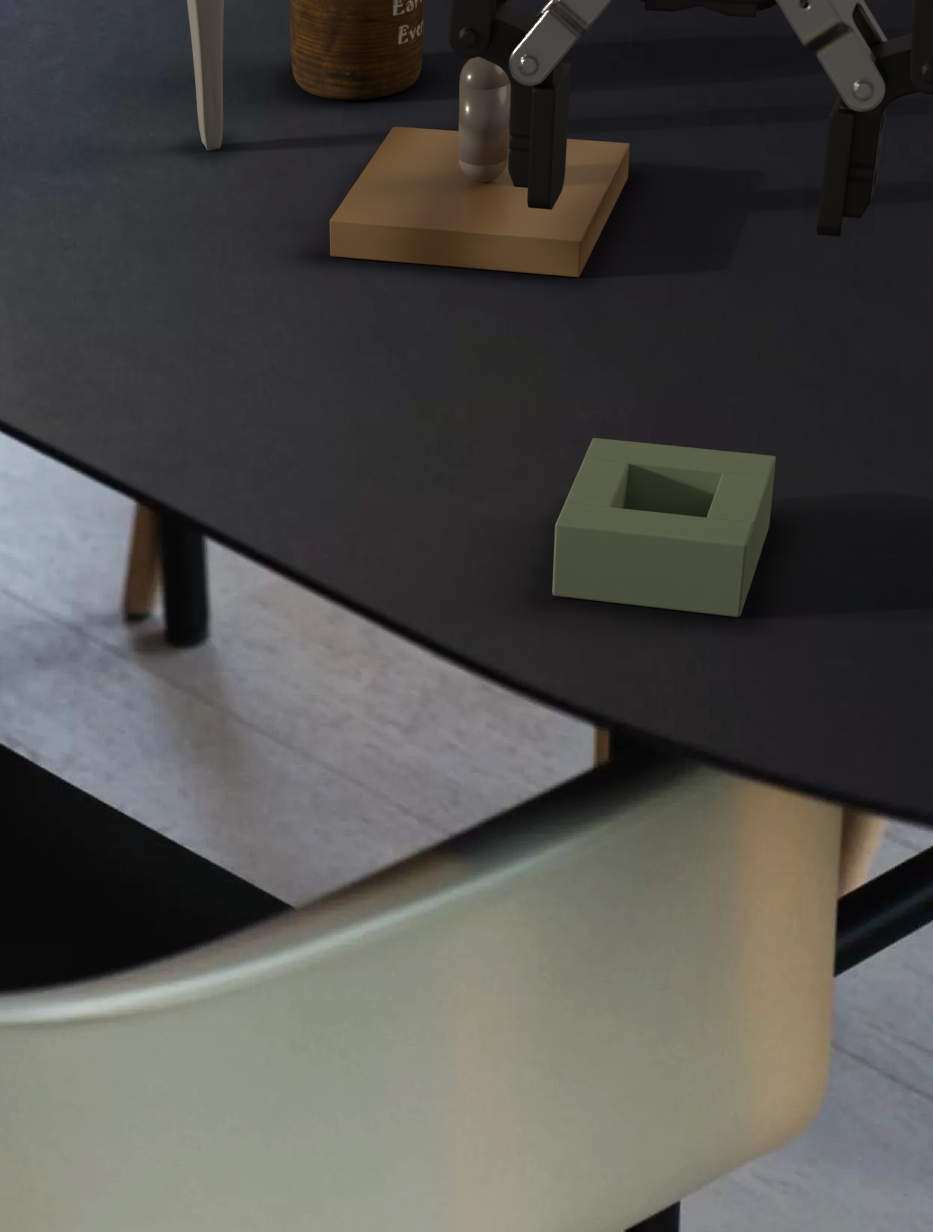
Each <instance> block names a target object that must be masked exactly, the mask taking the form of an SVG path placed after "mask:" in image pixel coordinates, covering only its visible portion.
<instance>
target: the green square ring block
mask: <svg viewBox="0 0 933 1232" xmlns="http://www.w3.org/2000/svg"><path fill="white" fill-rule="evenodd" d="M776 461H777V457H776V456H775V455H768V454H760V453H759V454H758V453H749V452H739V451H738V452H737V451H730V450H729V451H728V450H719V449H718V450H717V449H709V448H708V449H707V448H700V447H699V448H698V447H688V446H679V445H668V444H660V443H649V442H641V441H640V442H639V441H629V440H619V439H607V438H598V437H593V438H592V439H591V441H590V444H589V446H588V449H587V451H586V453H585V455H584V458H583V460H582V463H581V465H580V467H579V469H578V471H577V474H576V476H575V479H574V481H573V482H572V486H571V488H570V490H569V492H568V495H567V497H566V499H565V501H564V503H563V505H562V509H561V511H560V513H559V515H558V518H557V520H556V522H555V525H554V544H553V545H554V546H553V566H552V567H553V568H552V589H551V590H552V591H551V594H552V595H553V596H554V597H561V598H569V599H578V600H585V601H594V602H602V603H603V602H604V603H612V604H619V605H620V604H621V605H630V606H637V607H647V608H654V609H655V608H656V609H663V610H673V611H682V612H688V613H689V612H690V613H699V614H706V615H714V616H715V615H716V616H723V617H732V618H739V617H741V615H742V612H743V609H744V606H745V603H746V600H747V597H748V594H749V591H750V588H751V585H752V582H753V579H754V576H755V573H756V569H757V567H758V563H759V560H760V558H761V554H762V551H763V547H764V544H765V541H766V538H767V535H768V531H769V529H770V523H771V511H772V502H773V493H774V491H773V490H774V483H775V471H776V463H777V462H776Z"/></svg>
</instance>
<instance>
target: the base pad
mask: <svg viewBox="0 0 933 1232" xmlns="http://www.w3.org/2000/svg"><path fill="white" fill-rule="evenodd" d="M458 91H459V93H458V94H459V95H458V130H447V129H433V128H420V127H419V128H418V127H405V126H393V127H392V128H391V130H390V131H389V133H388V134H387V135H386V137H385V138H384V140H383V141H382V143H381V144H380V145H379V147H378V148H377V150H376V152H375V153H374V154H373V156H372V158H371V159H370V161H369V162H368V164H367V165H366V166H365V168H364V169H363V171H362V172H361V173H360V175H359V177H358V178H357V180H356V181H355V183H354V184H353V185H352V187H351V189H350V190H349V191H348V193H347V195H346V196H345V198H344V199H343V201H342V202H341V203H340V205H339V206H338V207H337V209H336V211H335V212H334V213H333V215H332V216H331V218H330V219H329V255H330V257H335V258H344V259H345V258H346V259H359V260H371V261H382V262H393V263H404V264H406V263H407V264H417V265H428V266H429V265H430V266H442V267H453V268H463V269H464V268H465V269H475V270H476V269H477V270H487V271H489V270H490V271H500V272H513V273H522V274H533V275H535V274H536V275H547V276H558V277H559V276H560V277H570V278H580V276H581V274H582V272H583V270H584V268H585V266H586V265H587V262H588V260H589V258H590V256H591V254H592V252H593V249H594V248H595V246H596V243H597V242H598V240H599V238H600V236H601V233H602V231H603V229H604V227H605V226H606V223H607V222H608V219H609V218H610V215H611V214H612V212H613V209H614V208H615V205H616V203H617V201H618V199H619V197H620V195H621V193H622V191H623V189H624V186H626V185H625V184H626V182H627V181H628V179H629V167H630V165H629V164H630V148H631V144H630V143H629V142H615V141H602V140H601V141H600V140H586V139H574V138H567V148H566V166H565V178H564V184H563V189H562V192H561V194H560V196H559V198H558V199H557V201H556V203H555V205H554V207H553V209H552V210H549V209H538V208H529V207H528V204H527V195H528V188H523V187H514V185H513V182H512V180H511V177H510V174H509V171H508V159H509V138H510V135H509V134H510V109H511V84H510V81H509V78H508V76H507V74H506V73H505V72H504V71H503V70H502V69H501V68H500V67H499V66H497V65H496V64H494V63H491V62H489V61H487V60H485V59H483V58H480V57H476V58H471V59H470V58H468V60H467V61H466V62H465V63H464V65H463V67H462V69H461V71H460V74H459V90H458Z"/></svg>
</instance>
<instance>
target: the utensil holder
mask: <svg viewBox="0 0 933 1232" xmlns="http://www.w3.org/2000/svg"><path fill="white" fill-rule="evenodd" d="M289 40H290V56H291V57H290V60H291V69H292V74H293V78H294V80H295V82H296V84H297V85H298V86H299V87H300V88H301V89H302V90H304V91H305V92H307V93H309V94H311V95H314V96H317V97H320V98H325V99H331V100H337V101H338V100H339V101H367V100H376V99H381V98H386V97H390V96H393V95H397V94H398V93H401V92H403V91H405V90H407V89H409V88H410V87H412V86H413V85H414V84H415V83H416V82H417V80H418V79H419V77H420V74H421V71H422V65H423V56H424V0H289Z"/></svg>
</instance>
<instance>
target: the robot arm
mask: <svg viewBox="0 0 933 1232" xmlns="http://www.w3.org/2000/svg"><path fill="white" fill-rule="evenodd" d="M612 2H613V0H548V2H547V3H546V4H545V5H544V7H542V9H541V10H540V11H539V12H538V14H537V15H535V14H533V13H530V12H528V11H526V10H524V9H522V8H520V7H517V6H515V5H514V4H511V3H510V0H451V4H450V16H449V26H448V27H449V28H448V41H449V45H450V47H451V49H452V50H453V52H454V53H455V54H457V55H458V56H459V57H461V58H464V59H471V58H476V57H480V58H483V59H485V60H487V61H489V62H491V63H494V64H496V65H497V66H499V67H500V68H501V69H502V70H503V71H504V72H505V73H506V74H507V76H508V78H509V81H510V84H511V93H510V127H509V135H510V138H509V159H508V171H509V174H510V177H511V180H512V182H513V185H514V187H523V188H528V195H527V204H528V207H529V208H538V209H549V210H552V209H553V207H554V205H555V203H556V201H557V199H558V198H559V196H560V194H561V192H562V189H563V184H564V178H565V166H566V148H567V139H568V129H569V128H568V127H569V125H568V124H569V109H570V92H571V91H570V88H571V71H572V63H571V62H570V63H569V62H563V61H564V60H563V59H564V57H565V56H566V55H567V53H568V52H569V51H570V50H571V49H572V47H574V45H575V44H576V43H577V41H578V40H579V39H580V38H581V37H582V36H583V35H584V34H586V32H587V31H588V30H589V29H590V28H591V27H592V25H594V23H595V22H596V21H597V19H598V18H599V17H600V16H601V15H602V13H603V12H604V11H605V10H606V9H607V8H608V6H609V5H610V4H611V3H612ZM639 2H642V3H644V11H651V12H653V11H654V12H666V13H667V12H669V13H673V12H678V11H683V10H687V9H693V8H705V9H707V10H710V11H713V12H716V13H719V14H721V15H725V16H728V17H738V18H739V17H740V18H754V19H756V18H757V16H758V14H759V12H761V11H766V10H768V9H771V8H773V7H775V6H777V5H778V7H779V9H780V10H781V11H782V14H783V16H784V17H785V18H786V20H787V22H788V23H789V26H791V28H792V30H793V32H794V33H795V35H796V36H797V38H798V40H799V41H800V43H801V44H802V45H803V47H804V48H805V49H806V50H808V51H810V52H812V53H813V55H814V56H815V57H816V58H817V60H818V62H819V63H820V65H821V66H822V68H823V70H824V71H825V73H826V75H827V77H828V78H829V80H830V82H831V83H832V85H833V86H834V88H835V89H836V91H837V95H836V97H835V100H834V102H833V105H832V108H831V111H830V114H829V121H828V128H827V129H828V130H827V138H826V148H825V154H824V155H825V156H824V164H823V165H824V166H823V172H822V181H821V189H820V198H819V207H818V216H817V225H816V235H817V236H826V237H837V238H841V237H842V235H843V233H844V229H845V226H846V224H847V221H848V218H851V219H852V218H853V219H862V217H863V216H864V215H865V212H866V210H867V208H868V207H869V205H870V204H871V201H872V198H873V195H874V191H875V188H876V186H877V182H878V181H877V180H878V173H879V165H880V157H881V150H882V142H883V135H884V127H885V119H886V112H887V108H888V106H890V104H891V103H893V102H894V101H896V100H898V99H900V98H903V97H906V96H909V95H910V96H911V95H913V94H917V93H922V94H923V95H929V96H930V95H933V0H914V5H913V6H914V8H913V20H912V21H913V22H912V32H911V33H909V34H906V35H901V36H899V37H895V38H891V39H888V38H887V37H886V35H885V34H884V32H883V30H882V28H881V27H880V25H879V24H878V22H877V20H876V18H875V16H874V15H873V14H872V12H871V10H870V9H869V6H868V5H867V3H866V1H865V0H806V1H805V0H639Z"/></svg>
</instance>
